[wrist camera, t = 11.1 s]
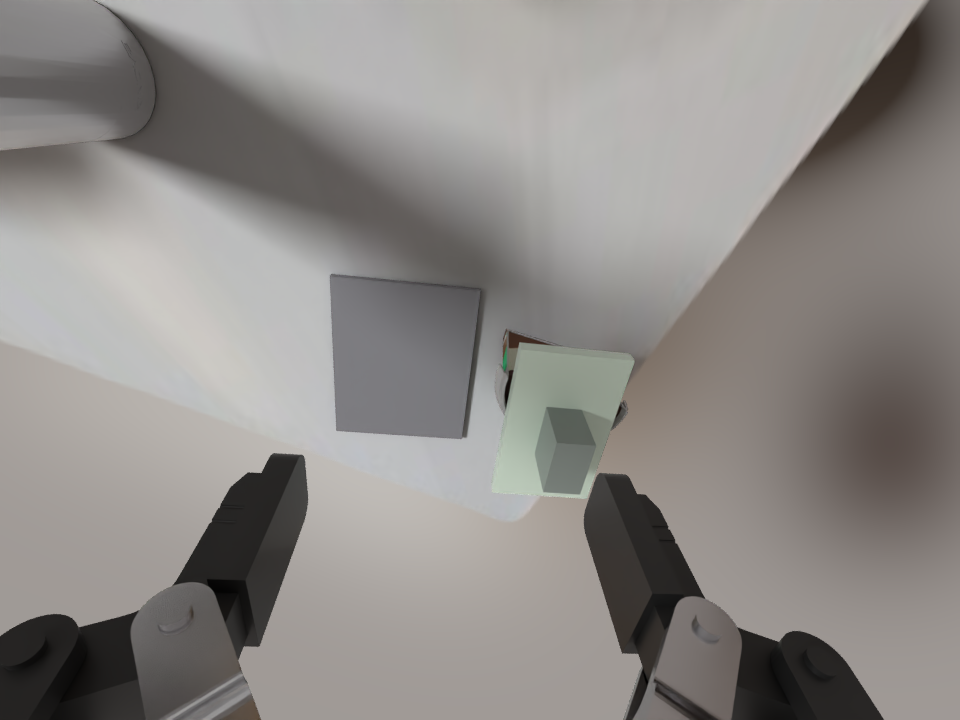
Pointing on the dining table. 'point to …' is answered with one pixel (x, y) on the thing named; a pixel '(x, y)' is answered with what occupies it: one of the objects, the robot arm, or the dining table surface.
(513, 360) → the food container
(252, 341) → the dining table surface
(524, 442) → the lid
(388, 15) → the dining table surface
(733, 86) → the dining table surface
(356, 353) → the mat
